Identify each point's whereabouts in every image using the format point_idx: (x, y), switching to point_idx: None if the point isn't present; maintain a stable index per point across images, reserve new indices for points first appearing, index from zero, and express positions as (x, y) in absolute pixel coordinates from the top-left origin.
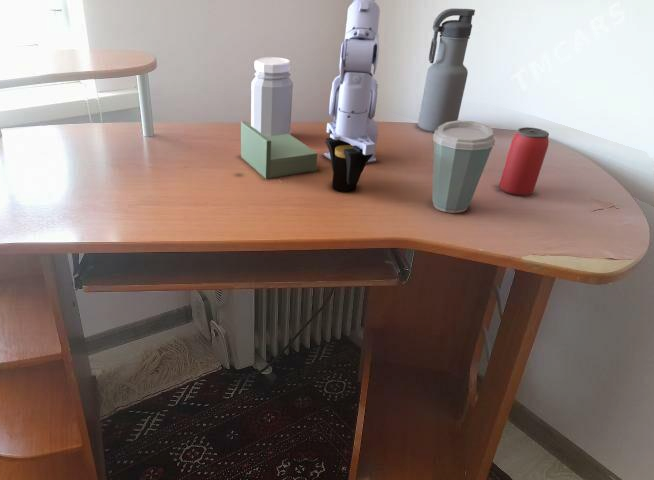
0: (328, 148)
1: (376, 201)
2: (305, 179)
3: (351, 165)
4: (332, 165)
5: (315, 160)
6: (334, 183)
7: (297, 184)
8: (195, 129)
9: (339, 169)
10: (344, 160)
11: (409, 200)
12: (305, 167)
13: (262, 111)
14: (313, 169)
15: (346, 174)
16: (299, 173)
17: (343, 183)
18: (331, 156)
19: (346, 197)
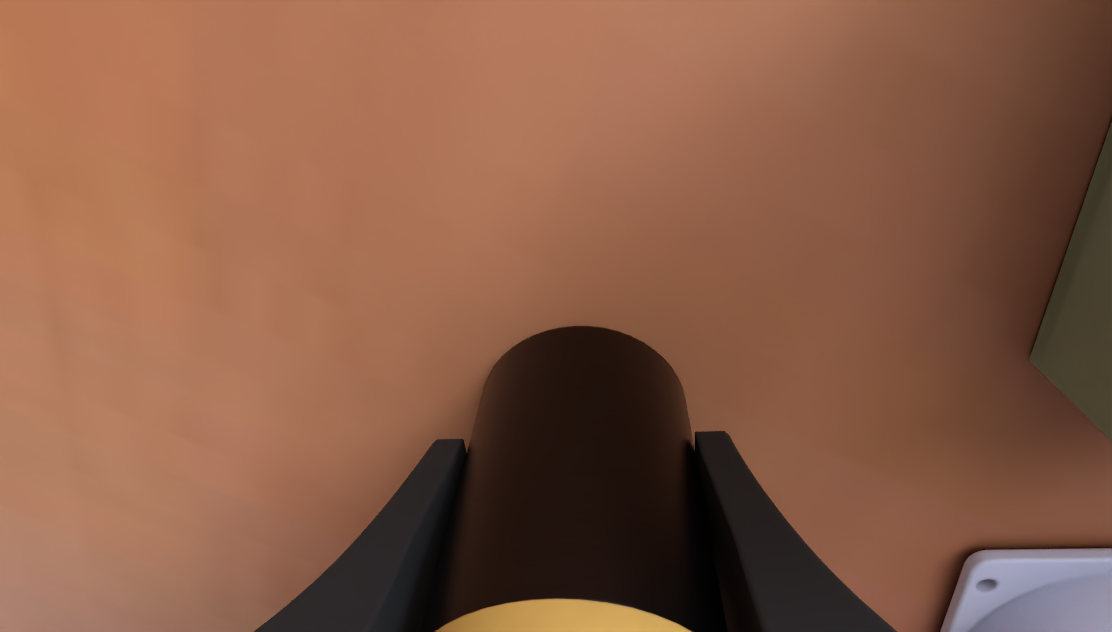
0: (876, 626)
1: (301, 488)
2: (913, 184)
3: (296, 602)
4: (738, 480)
5: (1109, 418)
6: (565, 359)
7: (836, 38)
8: None
9: (501, 481)
10: (447, 606)
11: None
12: (1106, 277)
13: None
14: (1050, 345)
15: (459, 492)
16: (1089, 185)
17: (482, 414)
18: (781, 554)
19: (397, 349)
